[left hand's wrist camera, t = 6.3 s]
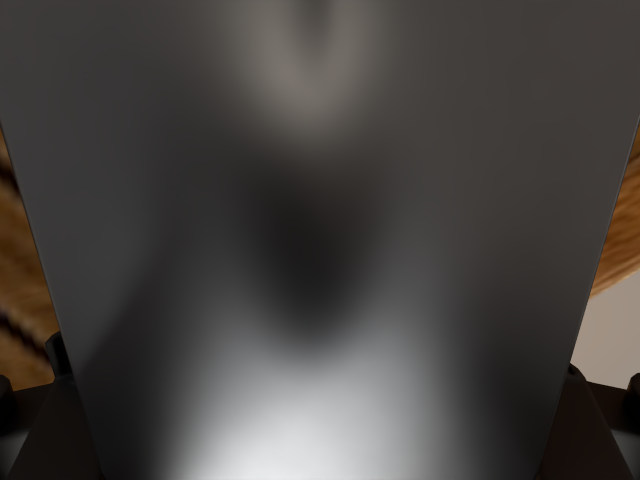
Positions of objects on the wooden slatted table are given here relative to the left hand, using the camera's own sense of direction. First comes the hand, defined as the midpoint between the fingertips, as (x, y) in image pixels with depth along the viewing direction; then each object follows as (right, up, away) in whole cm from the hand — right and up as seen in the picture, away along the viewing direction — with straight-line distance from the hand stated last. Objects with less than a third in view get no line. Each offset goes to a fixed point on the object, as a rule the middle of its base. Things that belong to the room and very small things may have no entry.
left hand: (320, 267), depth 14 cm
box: (0, +8, +1) cm, 8 cm away
